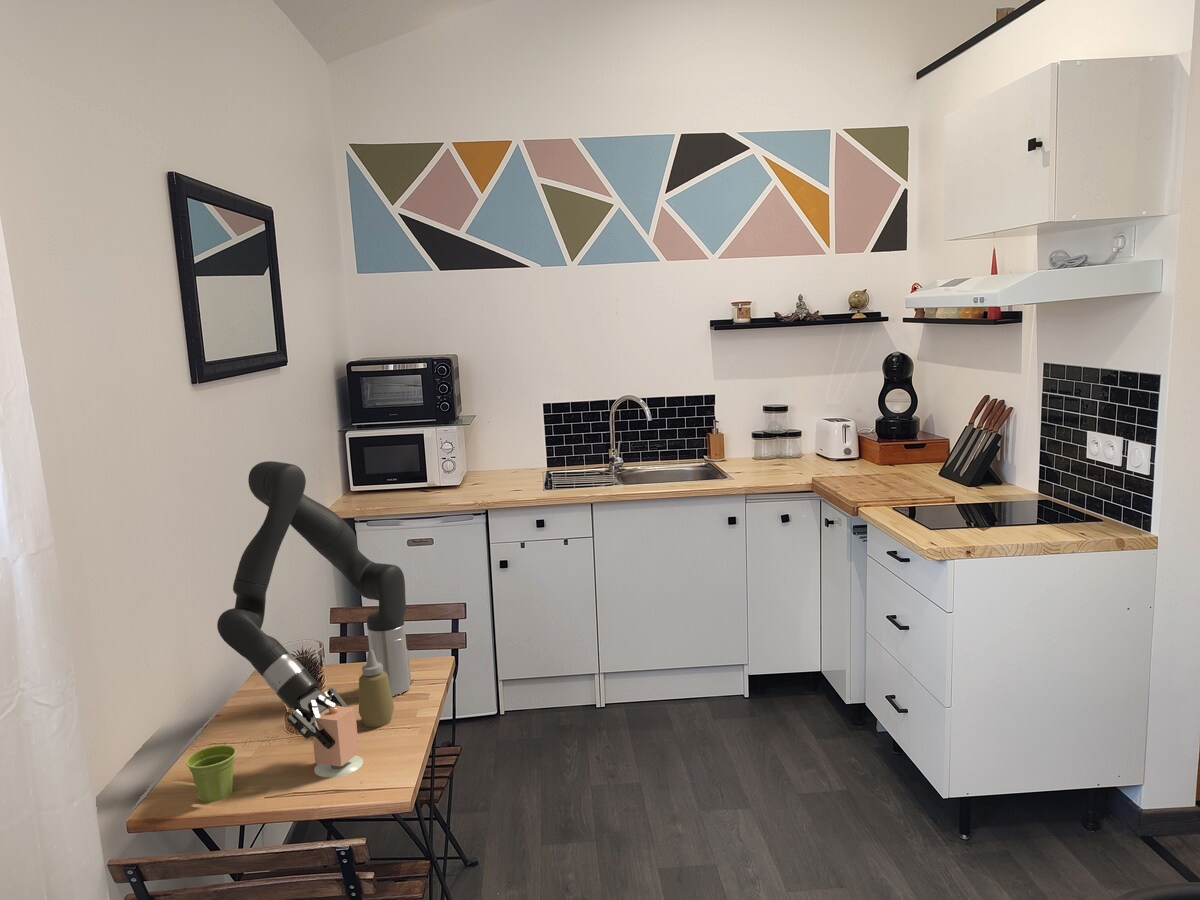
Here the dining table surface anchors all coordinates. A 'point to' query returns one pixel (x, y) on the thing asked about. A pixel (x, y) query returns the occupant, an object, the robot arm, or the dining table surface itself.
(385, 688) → the squeeze bottle
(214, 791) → the plant pot
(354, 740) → the peach rectangular block
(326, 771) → the plate
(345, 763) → the grey rounded cylinder
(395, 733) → the dining table surface
